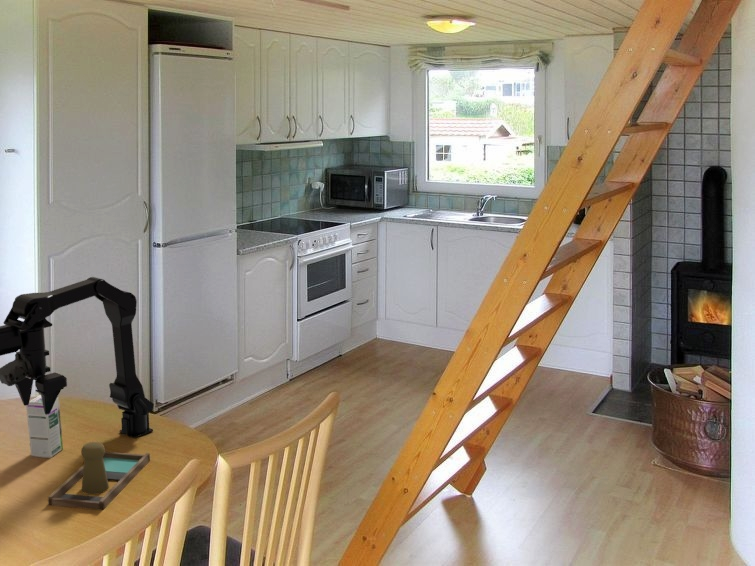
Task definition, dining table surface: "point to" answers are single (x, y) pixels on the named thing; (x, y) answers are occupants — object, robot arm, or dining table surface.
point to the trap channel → (124, 478)
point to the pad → (118, 465)
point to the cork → (94, 469)
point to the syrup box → (44, 429)
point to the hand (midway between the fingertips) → (36, 409)
